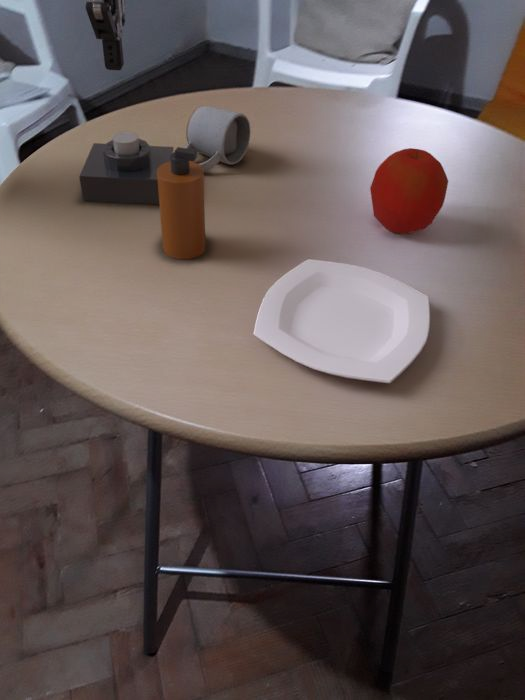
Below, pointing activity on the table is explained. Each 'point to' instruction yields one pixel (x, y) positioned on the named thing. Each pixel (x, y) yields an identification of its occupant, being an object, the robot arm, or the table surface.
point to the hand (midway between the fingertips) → (114, 68)
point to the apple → (408, 191)
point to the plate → (345, 320)
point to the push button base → (123, 174)
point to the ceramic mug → (218, 135)
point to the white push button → (126, 143)
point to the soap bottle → (182, 205)
